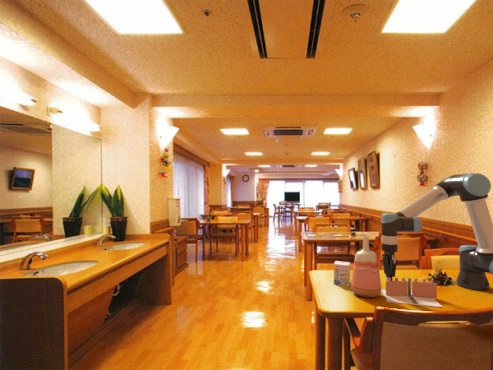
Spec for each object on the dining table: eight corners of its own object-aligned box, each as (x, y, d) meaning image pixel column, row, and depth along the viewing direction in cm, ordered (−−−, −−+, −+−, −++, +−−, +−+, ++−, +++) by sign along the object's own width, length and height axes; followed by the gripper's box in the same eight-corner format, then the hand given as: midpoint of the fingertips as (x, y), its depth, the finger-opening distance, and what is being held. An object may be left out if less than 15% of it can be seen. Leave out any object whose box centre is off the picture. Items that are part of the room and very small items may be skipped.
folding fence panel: (406, 294, 147) (406, 277, 147) (407, 295, 146) (407, 278, 146) (385, 294, 146) (385, 277, 146) (387, 295, 145) (387, 278, 145)
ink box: (333, 284, 164) (333, 263, 165) (334, 280, 172) (334, 260, 173) (349, 286, 161) (349, 265, 161) (350, 282, 169) (350, 261, 169)
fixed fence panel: (435, 297, 144) (435, 279, 144) (436, 298, 142) (436, 280, 143) (407, 294, 147) (407, 277, 147) (408, 295, 146) (408, 278, 146)
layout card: (429, 294, 149) (429, 293, 149) (442, 307, 131) (442, 306, 131) (380, 290, 155) (380, 289, 155) (387, 301, 138) (387, 300, 138)
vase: (379, 302, 137) (379, 239, 138) (348, 296, 145) (348, 236, 146) (383, 293, 150) (383, 236, 150) (354, 288, 157) (354, 233, 158)
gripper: (376, 241, 156) (376, 284, 155) (387, 245, 143) (387, 293, 143) (391, 241, 155) (391, 285, 155) (402, 246, 142) (402, 293, 142)
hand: (389, 289), depth 149 cm, fingers closed
